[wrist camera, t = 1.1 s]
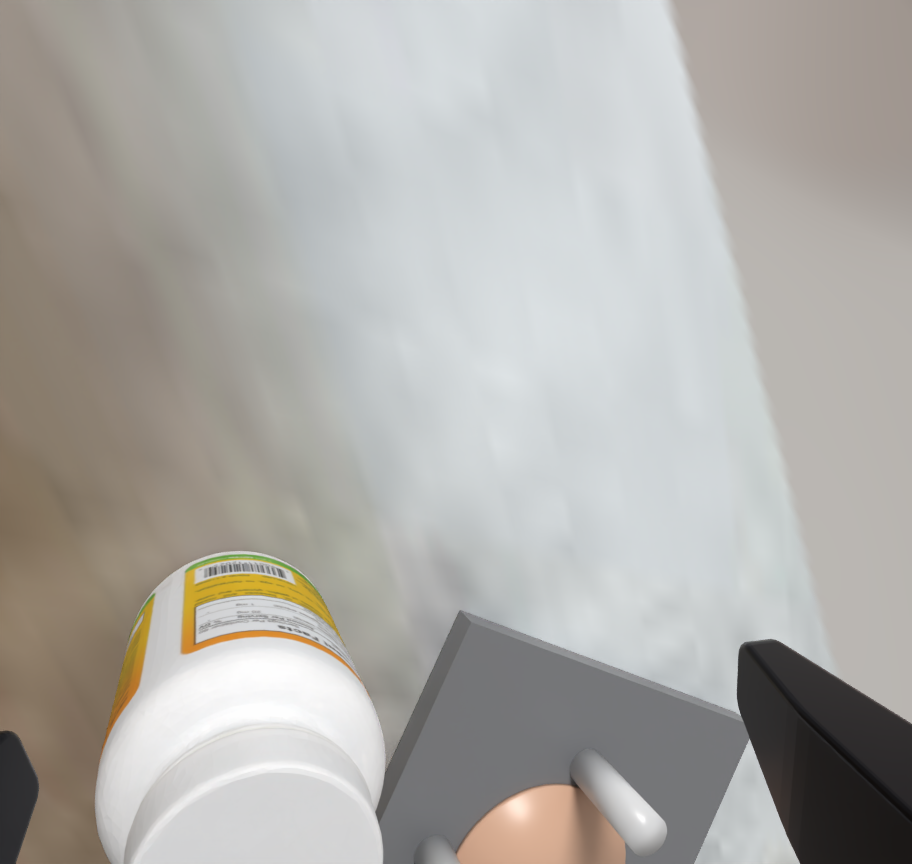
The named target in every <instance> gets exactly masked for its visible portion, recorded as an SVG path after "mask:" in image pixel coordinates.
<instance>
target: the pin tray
mask: <svg viewBox="0 0 912 864" xmlns="http://www.w3.org/2000/svg"><path fill="white" fill-rule="evenodd" d="M748 741H749V735H748V733H747V730H746V727H745V725H744V722H743V719H742V717H741V716H740V715H738V714H737V713H735V712H733V711H730V710H727V709H725V708H722V707H719V706H717V705H714V704H711V703H708V702H706V701H703V700H700V699H698V698H695V697H692V696H690V695H687V694H684V693H682V692H679V691H676V690H673V689H671V688H668V687H665V686H663V685H660V684H657V683H655V682H652V681H649V680H647V679H644V678H641V677H638V676H636V675H633V674H630V673H628V672H625V671H622V670H620V669H617V668H614V667H612V666H609V665H606V664H603V663H601V662H598V661H595V660H593V659H590V658H587V657H585V656H582V655H579V654H577V653H574V652H571V651H569V650H566V649H563V648H560V647H558V646H555V645H552V644H550V643H547V642H544V641H542V640H539V639H536V638H534V637H531V636H528V635H525V634H523V633H520V632H517V631H515V630H512V629H509V628H507V627H504V626H501V625H499V624H496V623H493V622H490V621H488V620H485V619H482V618H480V617H477V616H474V615H472V614H469V613H466V612H464V611H461V610H460V611H459V613H458V616H457V618H456V620H455V622H454V624H453V627H452V629H451V631H450V633H449V635H448V637H447V640H446V642H445V644H444V646H443V648H442V651H441V653H440V655H439V657H438V659H437V661H436V664H435V666H434V668H433V670H432V672H431V675H430V677H429V679H428V681H427V683H426V686H425V688H424V690H423V692H422V694H421V696H420V699H419V701H418V703H417V705H416V707H415V710H414V712H413V714H412V716H411V718H410V721H409V723H408V725H407V727H406V729H405V731H404V734H403V736H402V738H401V740H400V742H399V745H398V747H397V749H396V751H395V753H394V755H393V758H392V760H391V762H390V764H389V766H388V769H387V771H386V773H385V775H384V783H383V788H382V792H381V796H380V800H379V803H378V806H377V809H376V811H375V813H376V817H377V820H378V824H379V827H380V831H381V835H382V843H383V864H694V862H695V860H696V858H697V856H698V853H699V851H700V849H701V846H702V844H703V842H704V840H705V837H706V835H707V833H708V831H709V828H710V826H711V824H712V822H713V819H714V817H715V815H716V813H717V810H718V808H719V806H720V804H721V801H722V799H723V797H724V795H725V792H726V790H727V788H728V786H729V783H730V781H731V779H732V777H733V774H734V772H735V770H736V768H737V765H738V763H739V761H740V759H741V756H742V754H743V752H744V750H745V747H746V745H747V743H748Z"/></svg>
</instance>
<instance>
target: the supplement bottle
mask: <svg viewBox="0 0 912 864" xmlns="http://www.w3.org/2000/svg"><path fill="white" fill-rule="evenodd" d="M385 757H386V756H385V744H384V738H383V733H382V729H381V725H380V722H379V719H378V716H377V713H376V711H375V709H374V706H373V703H372V700H371V698H370V696H369V694H368V692H367V690H366V688H365V686H364V684H363V682H362V680H361V678H360V676H359V674H358V672H357V670H356V668H355V666H354V664H353V662H352V660H351V658H350V655H349V653H348V651H347V649H346V647H345V645H344V643H343V640H342V638H341V636H340V634H339V632H338V630H337V628H336V626H335V624H334V621H333V619H332V617H331V615H330V613H329V611H328V608H327V606H326V604H325V603H324V601H323V599H322V597H321V595H320V594H319V592H318V591H317V589H316V587H315V586H314V585H313V583H312V582H311V581H310V580H309V579H308V578H307V577H306V576H305V575H304V574H303V573H302V572H300V571H299V570H298V569H297V568H295V567H293V566H292V565H290V564H288V563H286V562H284V561H282V560H280V559H278V558H275V557H272V556H269V555H266V554H262V553H256V552H248V551H232V552H222V553H216V554H213V555H209V556H205V557H203V558H200V559H197V560H195V561H193V562H191V563H189V564H187V565H185V566H183V567H181V568H180V569H178V570H177V571H175V572H174V573H172V574H171V575H170V576H168V577H167V578H166V579H165V580H164V581H163V582H162V583H160V584H159V585H158V586H157V587H156V589H155V590H154V591H153V592H152V593H151V594H150V596H149V597H148V598H147V600H146V601H145V603H144V604H143V606H142V607H141V609H140V611H139V613H138V615H137V617H136V619H135V622H134V624H133V627H132V631H131V633H130V636H129V640H128V644H127V648H126V653H125V658H124V662H123V666H122V671H121V675H120V680H119V684H118V688H117V692H116V695H115V700H114V704H113V707H112V712H111V716H110V720H109V725H108V728H107V733H106V737H105V741H104V744H103V747H102V753H101V757H100V762H99V768H98V777H97V783H96V792H95V814H96V822H97V829H98V835H99V838H100V841H101V843H102V846H103V848H104V851H105V853H106V855H107V857H108V859H109V861H110V862H111V864H383V843H382V835H381V831H380V827H379V824H378V820H377V817H376V813H375V811H376V809H377V806H378V803H379V800H380V796H381V792H382V788H383V783H384V775H385Z"/></svg>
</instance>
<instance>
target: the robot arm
mask: <svg viewBox="0 0 912 864" xmlns="http://www.w3.org/2000/svg"><path fill="white" fill-rule="evenodd" d="M737 701H738V706H739V710H740V714H741V717H742V719H743V722H744V725H745V727H746V730H747V733H748V735H749V738H750V740H751V743H752V746H753V748H754V751H755V754H756V756H757V759H758V762H759V764H760V767H761V769H762V772H763V775H764V777H765V780H766V783H767V785H768V788H769V791H770V793H771V796H772V798H773V801H774V804H775V806H776V809H777V812H778V814H779V817H780V819H781V822H782V824H783V827H784V829H785V832H786V834H787V837H788V839H789V841H790V843H791V845H792V847H793V849H794V851H795V854H796V856H797V858H798V860H799V862H800V864H912V724H911V723H910V722H908V721H906V720H905V719H903V718H902V717H900V716H898V715H897V714H895V713H894V712H892V711H890V710H889V709H887V708H885V707H884V706H882V705H881V704H879V703H877V702H875V701H874V700H873V699H871V698H870V697H868V696H866V695H865V694H863V693H861V692H860V691H858V690H857V689H855V688H853V687H852V686H850V685H849V684H847V683H845V682H844V681H842V680H841V679H839V678H837V677H836V676H834V675H833V674H831V673H829V672H828V671H826V670H825V669H823V668H821V667H820V666H818V665H816V664H815V663H813V662H812V661H810V660H808V659H807V658H805V657H804V656H802V655H800V654H799V653H797V652H796V651H794V650H792V649H791V648H789V647H788V646H786V645H784V644H783V643H781V642H779V641H777V640H774V639H767V640H759V641H750V642H745V643H743V644H742V645H741V646H740V649H739V655H738V679H737ZM38 791H39V783H38V777H37V774H36V772H35V770H34V768H33V766H32V764H31V762H30V760H29V757H28V755H27V753H26V751H25V749H24V747H23V745H22V742H21V740H20V738H19V737H18V735H16V734H15V733H14V732H12V731H0V864H16V861H17V858H18V855H19V852H20V849H21V846H22V843H23V840H24V837H25V834H26V831H27V828H28V825H29V822H30V819H31V816H32V813H33V810H34V807H35V804H36V801H37V797H38Z"/></svg>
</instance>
